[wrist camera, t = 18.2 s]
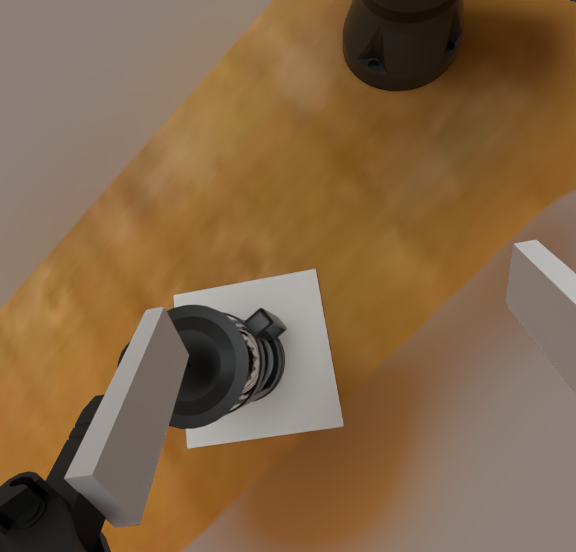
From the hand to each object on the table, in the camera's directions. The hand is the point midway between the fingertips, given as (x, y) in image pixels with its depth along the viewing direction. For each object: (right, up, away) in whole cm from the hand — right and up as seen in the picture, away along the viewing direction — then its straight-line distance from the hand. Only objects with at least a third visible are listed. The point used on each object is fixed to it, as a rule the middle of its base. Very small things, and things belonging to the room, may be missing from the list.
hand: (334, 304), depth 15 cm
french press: (-6, -9, +30) cm, 32 cm away
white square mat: (-6, -9, +30) cm, 32 cm away
